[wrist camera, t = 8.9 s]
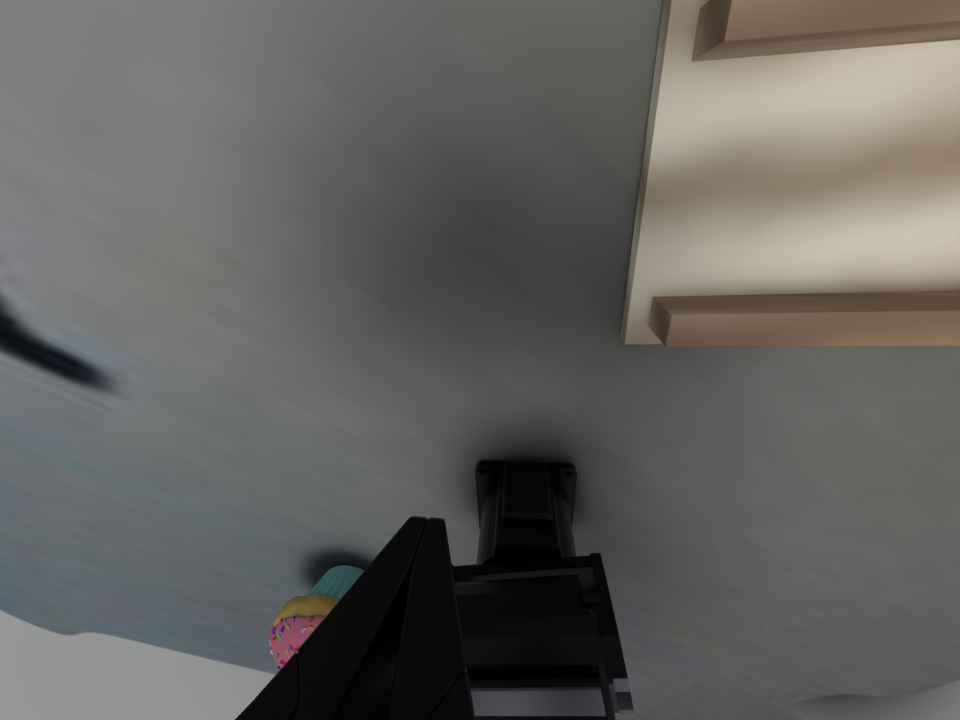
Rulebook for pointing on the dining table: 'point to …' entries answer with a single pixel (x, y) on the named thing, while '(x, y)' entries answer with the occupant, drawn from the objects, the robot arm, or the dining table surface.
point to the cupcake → (309, 612)
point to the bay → (800, 176)
